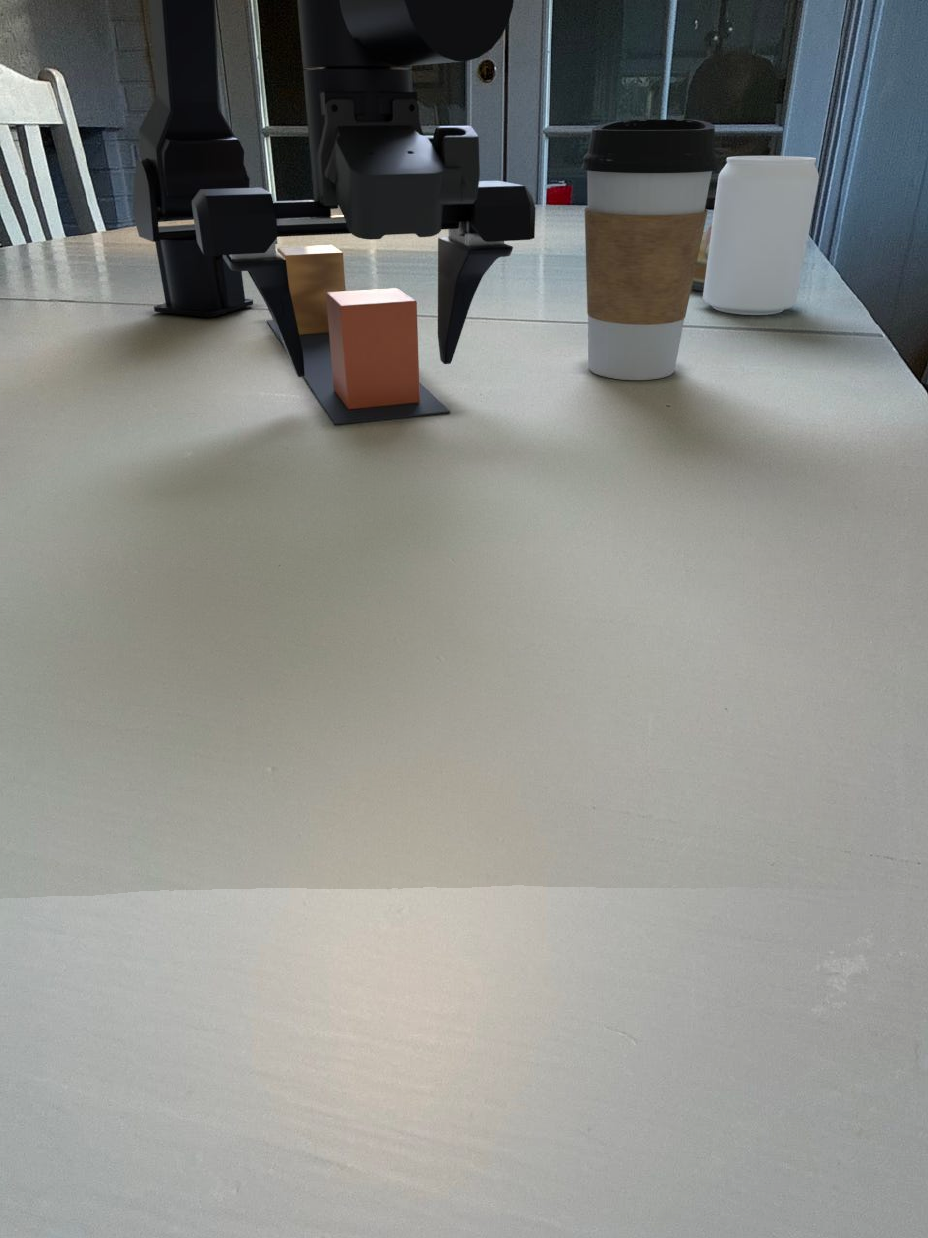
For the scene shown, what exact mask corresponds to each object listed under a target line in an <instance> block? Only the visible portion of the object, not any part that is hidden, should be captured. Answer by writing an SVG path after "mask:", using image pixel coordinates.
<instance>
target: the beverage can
mask: <svg viewBox="0 0 928 1238" xmlns="http://www.w3.org/2000/svg"><path fill="white" fill-rule="evenodd" d="M725 161H726V164H725V165H724V167H723V168H722V169H721V170H720V172H719V173H718V177H717V182H716V183H717V184H716V185H717V186H716V190H715V192H716V193H715V198H714V199H715V200H714V206H713V207H714V208H713V215H712V222H711V224H712V230H711V237H710V245H709V253H708V261H707V269H706V276H705V284H704V291H702V300H703V302H704V303H706V304H707V305H709V306H711V307H712V308H713V309H714V310H717V311H718V312H723V313H727V314H733V315H744V316H746V315H747V316H770V315H777V314H780V313H782V312H784V310H787V309H791V308H793V307H794V306H795V305H796V304H797V301H798V297H799V291H800V286H801V279H802V273H803V269H804V263H805V256H806V253H807V246H808V240H809V235H810V230H811V224H812V219H813V213H814V208H815V202H816V197H817V192H818V185H819V179H820V175H819V171H818V169H817V167H816V165H815V163H816V162H817V158H816V157H811V156H795V155H794V156H793V155H738V156H737V155H735V156H728V157H726V160H725Z"/></svg>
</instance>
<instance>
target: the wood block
mask: <svg viewBox="0 0 928 1238" xmlns="http://www.w3.org/2000/svg"><path fill="white" fill-rule="evenodd" d="M276 251H277V252H278V253H279V254H280V255H281V256H282V257H284V258H285V259H286V263H287V272H288V282H289V289H290V293H291V298H292V303H293V307H294V312H295V317H296V322H297V326H298V331H299V335H306V334H320V333H329V324H328V312H327V300H326V293H327V292H341V291H347V290H346V275H345V262H344V260H345V259H344V252H343V251H342V250H340V249H338V248H337V247H335V246H334V245H333V244H325V245H303V246H302V245H301V246H284V247H282V246H281V247H277V248H276Z"/></svg>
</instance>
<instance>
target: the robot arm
mask: <svg viewBox="0 0 928 1238" xmlns="http://www.w3.org/2000/svg"><path fill="white" fill-rule="evenodd" d="M296 1H297V2H296V3H297V14H298V25H299V26H298V27H299V37H300V39H299V40H300V49H301V62H302V69H303V70H302V74H303V75H302V76H303V84H304V85H303V87H304V98H305V99H304V100H305V109H306V110H305V111H306V119H307V120H306V122H307V132H308V133H307V134H308V147H309V157H310V168H311V181H312V183H311V184H312V193H313V199H300V200H274V199H273V195H272V193H271V192H269V191H268V190H266V189H265V188H263V187H250V182H251V179H250V176H249V174H248V173H247V169H246V166H245V150H244V148H243V146H242V143H241V141H240V140H239V139H238V138H237V137H236V136H235V134H234V132H233V131H232V128H231V127H230V126H229V124H228V122H227V120H226V118H225V116H224V114H223V113H222V111H221V109H220V91H219V90H220V89H219V68H218V67H219V66H218V44H217V43H218V39H217V13H216V0H148V3H149V15H150V16H149V18H150V28H151V39H152V52H153V65H154V77H155V87H156V88H155V89H156V91H155V92H156V94H155V95H156V96H155V98H154V99H153V102H152V103H151V106H150V108H149V109H148V111H147V112H146V115H145V117H144V119H143V121H142V123H141V124H140V127H139V129H138V137H139V138H138V139H139V159H137V160H136V162H135V169H134V186H133V200H132V201H133V202H132V213H133V218H134V223H135V226H136V230H137V234H138V237H139V238H142V239H144V240H147V241H149V242H152V243H154V244H155V250H156V256H157V261H158V267H159V273H160V278H161V279H160V280H161V284H162V290H163V297H164V303H161V304H157V305H154V306H153V310H154V312H155V313H164V314H173V315H183V316H193V317H201V318H213V317H216V316H219V315H224V314H226V313H231V312H233V311H238V310H240V309H243V308H246V307H251V306H253V305H254V299H252V298H246V295H245V288H244V280H243V272H247V273H248V274H249V276H250V279H251V280H252V281H253V283H254V285H255V287H256V289H257V290H258V292H259V294H260V296H261V297H262V299H263V301H264V303H265V305H266V307H267V309H268V312H269V314H270V316H271V318H272V319H271V320H273V321H274V323H275V326H276V328H277V330H278V333H279V335H280V337H281V340H282V342H283V344H284V346H283V348H284V347H285V348H284V350H285V349H286V350H285V352H286V354H287V356H288V357H289V358H288V359H289V361H290V362H291V365H292V368H293V370H294V372H295V374H296V376H297V377H298V378H304V376H305V371H304V357H303V350H302V345H301V340H300V336H299V331H298V326H297V322H296V317H295V312H294V307H293V303H292V298H291V293H290V289H289V282H288V272H287V263H286V259H285V258H284V257H282V256H281V255H280V254H279V253H278V251H277V248H276V245H278V238H280V237H281V238H283V237H305V236H327V235H349V234H351V235H352V236H353V237H356V238H358V239H363V240H381V239H382V238H384V237H385V236H393V235H416V236H417V237H419V238H430V237H434V236H436V235H438V234H440V233H441V231H442V230H447V231H448V234H447V235H448V236H446V237H445V236H444V237H438V238H437V341H438V351H439V358H440V359H439V360H440V362H441V363H442V364H443V365H450V364H451V363H452V361H453V359H454V355H455V353H456V349H457V346H458V344H459V341H460V337H461V334H462V332H463V328H464V325H465V322H466V319H467V316H468V313H469V310H470V306H471V304H472V302H473V299H474V296H475V295H476V292H477V290H478V288H479V286H480V284H481V281H482V279H483V277H484V276H485V274H486V272H488V270H489V269H490V268H491V266H492V265H493V264H494V263H495V262H496V261H497V259H500V258H506V257H510V256H511V254H512V252H513V249H514V246H512V245H510V244H507V243H505V242H513V241H514V242H515V241H531V240H534V239H535V236H536V205H535V201H534V198H533V195H532V194H531V192H530V190H529V189H528V188H527V187H526V185H523V184H519V183H513V182H507V181H503V180H480V176H481V175H480V174H481V173H480V171H481V168H480V164H481V163H480V140H479V139H480V137H479V134H478V133H477V131H475V129H474V128H473V126H471V125H443V126H442V125H439V126H437V127H435V129H434V132H433V135H424V132H423V128H422V126H421V123H420V122H421V121H420V106H419V103H418V91H413V70H412V68H413V66H423V65H424V66H425V65H436V64H437V65H439V64H449V63H450V64H451V63H460V62H461V63H463V62H469V61H472V60H475V59H478V58H480V57H482V56H483V55H485V54H486V53H488V52H489V51H491V50H492V48H494V46H495V45H497V43H498V41H499V40H500V39H501V38H502V36H503V34H504V32H505V31H506V28H507V26H508V24H509V22H510V18H511V15H512V11H513V8H514V0H296ZM337 209H340V212H341V213H342V214H341V215H337V214H335V215H332V210H337ZM177 221H193V222H194V223H189V224H175V225H161V226H160V225H159V222H164V223H165V222H177Z"/></svg>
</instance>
